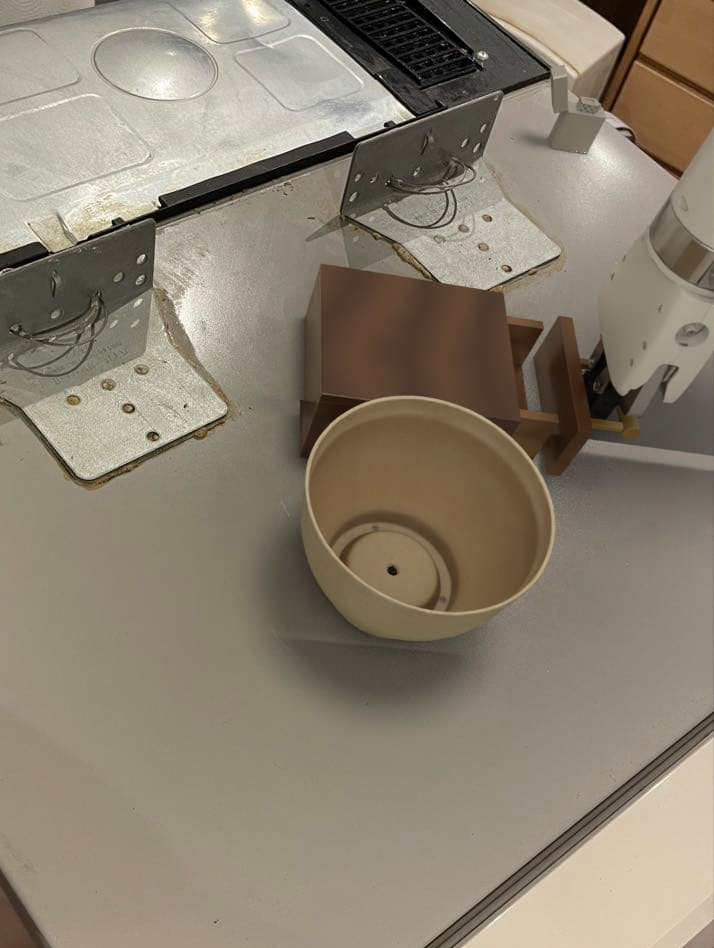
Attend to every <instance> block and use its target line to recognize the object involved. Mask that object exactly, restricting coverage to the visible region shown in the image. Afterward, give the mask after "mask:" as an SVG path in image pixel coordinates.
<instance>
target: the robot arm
mask: <svg viewBox="0 0 714 948" xmlns="http://www.w3.org/2000/svg"><path fill="white" fill-rule="evenodd" d="M596 309H597V310H596V311H597V319H598V324H599V329H600V335H599V336H600V338H599V340H598V341H597V344H596V345H595V347H594V349H593V351H592V353H591V354H590V357H589V358H588V359H589V368H590V369H591V370H587V369H585V370H584V373H583V378H584V384H585V389H586V395H587V400H588V406H589V411H590V417H591V418H595V419H602V420H608V418H609V417H610V416H611V414H612V413H613V411H614V410H616V406H617V405H618V404H619V406H620V408H621V411H622V413H623V415H624V416H629V417H636V418H638V419H641V418H643V417H644V415H645V413H646V411H647V409H648V408H649V406H650V404H651V402H652V400H653V399H654V397H655V395H656V393H657V391H658V390H659V392H660V396H661V400H662V401H661V402H662V403H667V404H673V403H674V402H676V401H677V400H678V399H679V398H680V397H681V396H682V395H683V393H684V392H685V391H687V388H689V386H690V385H691V384H692V382H693V381H694V380H695V379H696V377H697V376H698V374H699V373H700V371H701V370H702V369H703V368H704V366H705V364H706V363H707V362H708V360H709V359H710V357H711V356H712V355H713V353H714V126H713V127H712V129H711V130H710V132H709V133H708V135H707V136H706V138H705V140H704V141H703V143H702V144H701V146H700V147H699V149H698V150H697V152H696V153H695V155H694V156H693V158H692V159H691V161H690V162H689V165H688V166H687V167H686V169H685V170H684V172H683V173H682V175H681V176H680V178H679V180H678V181H677V182H676V184H675V185H674V187H673V189H672V190H671V192H670V194H668V196H667V198H666V200H665V201H664V203H663V204H662V205H661V207H660V208H659V210H658V211H657V214H656V215H655V216H654V218H653V219H652V221H651V222H650V223H649V224H648V225H647V226H646V228H645V229H644V230H643V231H642V232H641V234H640V235H639V236H638V238H637V239H636V240H635V241H634V242H633V244H632V245H631V246H630V248H629V249H628V250H627V251H626V253H625V254H624V255H623V257H622V258H621V259H620V261H619V262H618V264H617V266H616V267H615V268H614V270H613V272H612V273H611V274H610V276H609V278H608V279H607V281H606V283H605V285H604V286H603V288H602V289H601V292H600V294H599V296H598V299H597V308H596Z"/></svg>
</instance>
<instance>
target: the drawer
mask: <svg viewBox="0 0 714 948" xmlns="http://www.w3.org/2000/svg"><path fill="white" fill-rule="evenodd" d="M507 321H508V329H509V336H510V343H511V350H512V358H513V365H514V372H515V380H516V387H517V394H518V401H519V409H520V416H521V422H520V424H519V426H518V427H517V429H516V430H515V432H514V433H513V435H512V438H513V439H514V440H515V441H516V442H517V443H518V444H519V445H520V447H521V448H522V449H523V450H524V451H525V452H526V453H527V455H528V456H529V457H530V459H531V460H532V461H533V462H534V459H535V457H537V455H538V453H539V452H540V451H541V449H542V454H543V455H542V456H543V461H544V467H545V474H546V476H553V477H561V476H562V475H563V474H564V472H565V471H566V470H567V468H568V467H569V466H570V464H571V463H572V462H573V460H575V458H576V457H577V455H578V454H579V453H580V451H581V450H583V447H584V446H585V445H586V443H587V442H588V440H589V439H591V437H592V436H593V434H594V430H598V431H599V430H601V431H605V432H607V431H609V432H612V433H613V432H615V433H621V436H622V438H623V439H626V440H632V439H636V438H638V436H640V435H641V427H640V423H639V418H636V417H629V416H624V415H623V413H622V411H621V408H620V406H619V404H618V405H617V406H616V408H615V410H616V413H617V418H618V421H615V420H608V419H606V420H602V419H595V418H591V417H590V411H589V406H588V400H587V395H586V389H585V384H584V378H583V374H584V373H583V370H591V369H590V368H589V359H590V358H581V356H580V352H579V346H578V340H577V335H576V330H575V325H574V319H573V317H570V316H564V315H557V318H556V320H555V321H554V323H553V324H552V325H551V328H550V329H549V331H548V332H547V334H546V335H545V337H544V339H543V341H542V342H541V343H540V346H539V347H538V349H537V351H536V352H535V354H534V355H533V364H534V371H535V377H536V384H537V390H538V397H539V403H540V411H536V410H529V408H528V400H527V395H526V394H527V393H526V387H525V380H524V371H523V365H524V363H525V362H526V360H527V358H528V356H529V355H530V353H531V351H532V350H533V348H534V347H535V345H536V344H537V341H538V340H539V338H540V336H542V333H543V331H544V330H545V326H544V321H543V320H536V319H530V318H523V317H516V316H510V315H507Z"/></svg>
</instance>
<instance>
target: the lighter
mask: <svg viewBox="0 0 714 948" xmlns="http://www.w3.org/2000/svg"><path fill="white" fill-rule="evenodd" d="M549 70H550V92H551V93H550V94H551V96H550V97H551V107H552V110H553V114H554V115H555V114H558V116H557V118H556V119H555V122H554V124H553V126H552V128H551V130H550V133H549V134H548V137H547V141H548V145H549V148H550V149H551V150H557V151H565V152H569V151H573V152H572V153H576V151H577V152H582V153H584V152H586V153H587V152H588V153H589V151H590V149H591V148H592V145H593V144H594V142H595V140H596V138H597V136H598V134H599V133H600V130H601V128H602V127H603V124H604V123H605V121H606V119H607V115H606V111H605V109H604V107H602V104H601V102H599V100H598V99H597V98H594V97H587V96H583V95H581V96H580V97H579V98H578V101H577V102H576V101H570V100H569V91H568V90H569V86H568V72H567V68H566V64H561V65H557V66H552V67H550V69H549ZM582 153H581V154H582ZM588 153H587V154H588Z"/></svg>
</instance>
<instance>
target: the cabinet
mask: <svg viewBox="0 0 714 948" xmlns="http://www.w3.org/2000/svg"><path fill="white" fill-rule="evenodd" d="M314 281H315V282H314V285H313V288H312V291H311V294H310V298H309V302H308V305H307V309H306V312H305V315H304V357H303V358H304V369H303V370H304V376H303V377H304V378H303V379H304V381H303V382H304V384H303V385H304V390H303V392H304V395H303V399H299V458H303V459H309V456H310V453H311V451H312V449H313V447H314V445H315V443H316V441H317V440H318V438H319V437H320V435H321V434H322V433H323V431H324V430H325V429H326V428H327V427H328V426H329V425H330V424H331V423H332V422H333V421H334V420H335V419H337V418H338V417H339V416H341V415H342V414H343V413H345V412H347V411H348V410H350V409H352V408H354V407H356V406H358V405H360V404H363V403H365V402H368V401H371V400H375V399H379V398H384V397H391V396H422V397H428V398H434V399H439V400H443V401H447V402H450V403H454V404H456V405H459V406H462V407H464V408H467V409H469V410H471V411H473V412H475V413H477V414H479V415H481V416H483V417H485V418H486V419H488V420H489V421H491V422H492V423H494V424H495V425H497V426H498V427H500V428H501V429H502V430H503V431H505V432H506V433H507V434H508V435H509V436H511V437H512V435H513V433H514V432H515V430H516V429H517V427H518V426H519V424H520V422H521V416H520V409H519V401H518V394H517V387H516V380H515V372H514V365H513V358H512V350H511V343H510V336H509V329H508V321H507V316H508V315H507V306H506V299H505V293H504V292H503V291H502V292H501V291H494V290H489V289H483V288H477V287H471V286H466V285H465V286H464V285H458V284H451V283H445V282H440V281H434V280H428V279H421V278H414V277H408V276H403V275H397V274H390V273H383V272H377V271H372V270H366V269H365V270H364V269H358V268H352V267H348V266H347V267H345V266H340V265H335V264H328V263H320V264H319V267H318V271H317V275H316V278H315V280H314Z"/></svg>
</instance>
